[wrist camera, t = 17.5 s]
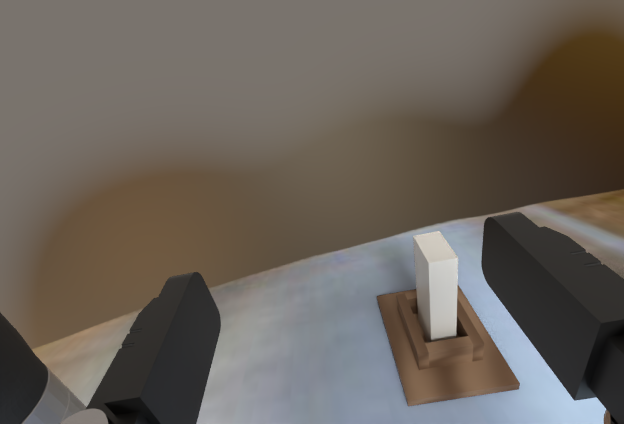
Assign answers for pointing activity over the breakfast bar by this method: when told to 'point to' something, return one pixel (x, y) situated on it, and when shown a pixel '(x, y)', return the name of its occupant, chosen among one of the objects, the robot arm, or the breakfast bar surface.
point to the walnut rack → (443, 353)
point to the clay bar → (436, 286)
